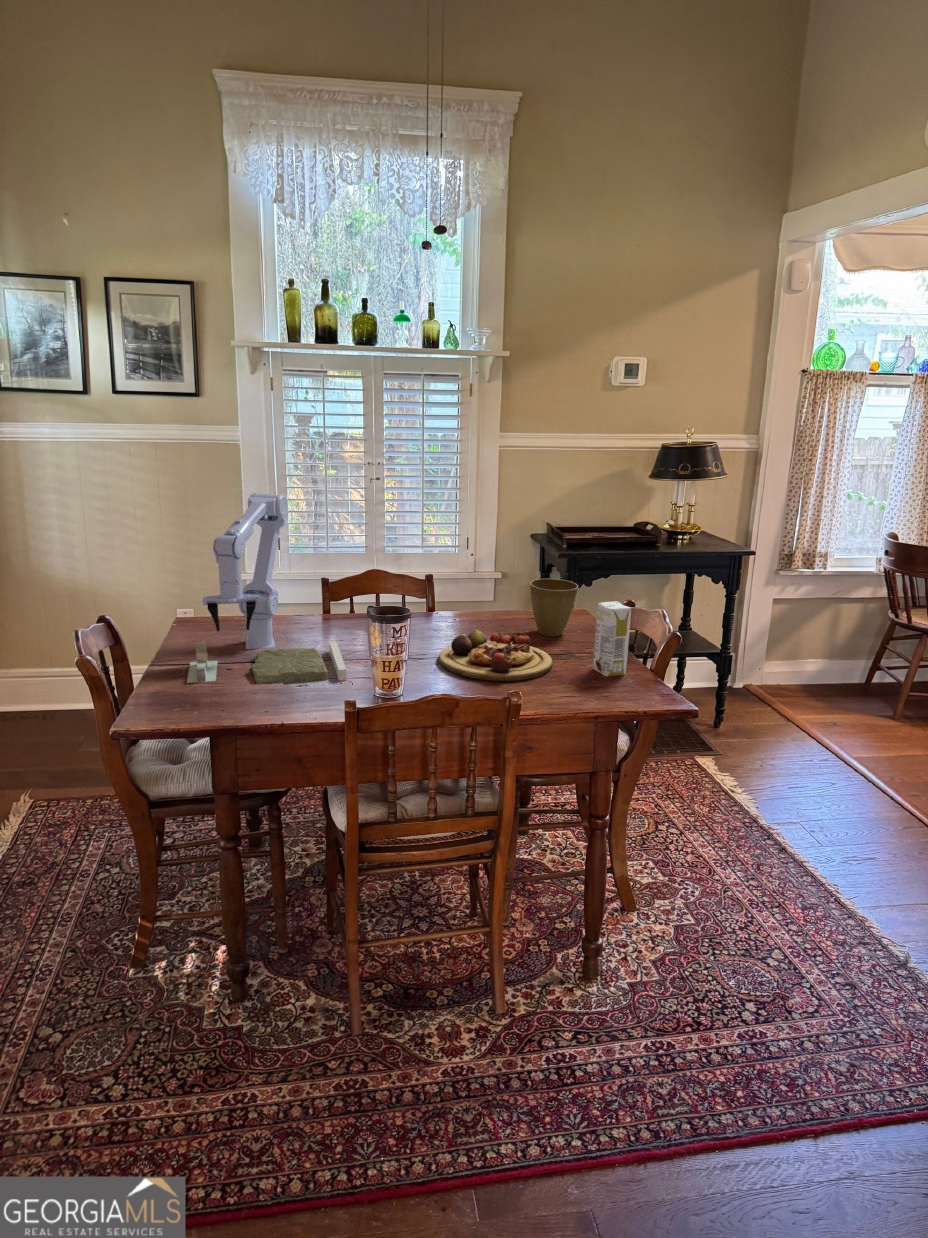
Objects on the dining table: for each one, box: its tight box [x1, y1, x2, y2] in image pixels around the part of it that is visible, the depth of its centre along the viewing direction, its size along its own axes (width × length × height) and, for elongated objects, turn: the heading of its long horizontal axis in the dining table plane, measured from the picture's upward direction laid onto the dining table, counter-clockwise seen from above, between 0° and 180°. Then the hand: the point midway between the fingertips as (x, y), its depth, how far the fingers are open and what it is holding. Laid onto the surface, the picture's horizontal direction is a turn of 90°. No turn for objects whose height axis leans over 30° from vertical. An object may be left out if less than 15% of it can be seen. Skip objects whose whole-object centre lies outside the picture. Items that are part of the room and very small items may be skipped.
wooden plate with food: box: [438, 628, 554, 682], centre depth 226 cm, size 32×32×8 cm
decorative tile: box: [251, 647, 328, 684], centre depth 216 cm, size 19×20×4 cm
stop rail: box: [328, 641, 347, 682], centre depth 221 cm, size 24×2×3 cm, turn 15°
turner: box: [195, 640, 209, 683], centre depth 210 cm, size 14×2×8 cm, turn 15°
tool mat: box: [186, 660, 218, 684], centre depth 212 cm, size 16×7×1 cm, turn 15°
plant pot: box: [529, 578, 579, 637], centre depth 254 cm, size 15×15×16 cm
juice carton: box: [592, 600, 632, 677], centre depth 220 cm, size 8×9×19 cm
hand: (233, 629), depth 218 cm, fingers open, 7 cm apart
